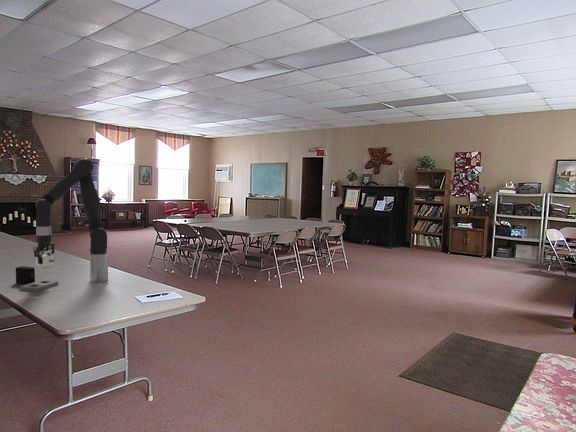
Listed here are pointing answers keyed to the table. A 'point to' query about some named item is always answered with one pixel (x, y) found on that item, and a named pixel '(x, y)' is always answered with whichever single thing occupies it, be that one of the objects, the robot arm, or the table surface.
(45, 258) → the plug
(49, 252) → the robot arm
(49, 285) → the socket plate
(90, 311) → the table surface
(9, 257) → the table surface
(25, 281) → the electronic device
